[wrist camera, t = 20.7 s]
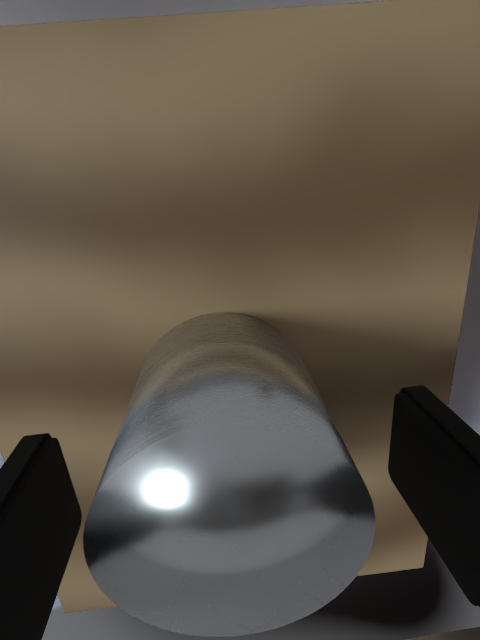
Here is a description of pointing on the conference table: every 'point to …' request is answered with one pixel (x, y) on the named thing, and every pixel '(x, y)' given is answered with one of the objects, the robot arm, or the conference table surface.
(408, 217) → the lid
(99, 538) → the steel weight
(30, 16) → the conference table surface
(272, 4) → the conference table surface
